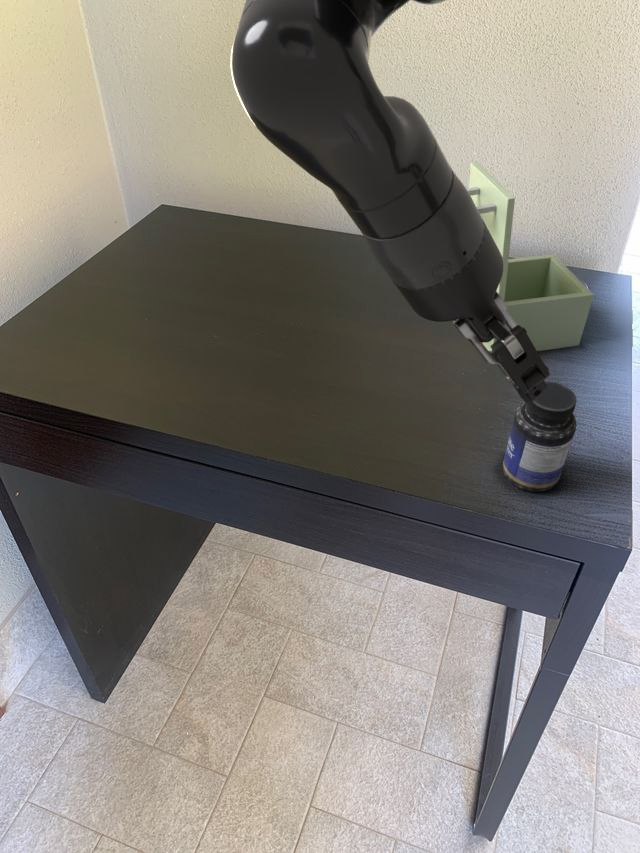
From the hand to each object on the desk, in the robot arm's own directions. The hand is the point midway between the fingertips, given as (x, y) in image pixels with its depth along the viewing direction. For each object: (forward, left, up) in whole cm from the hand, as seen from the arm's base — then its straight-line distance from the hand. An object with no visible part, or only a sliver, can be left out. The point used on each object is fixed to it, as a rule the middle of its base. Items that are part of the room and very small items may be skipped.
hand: (507, 364), depth 60 cm
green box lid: (+13, -29, -3) cm, 32 cm away
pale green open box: (+8, -34, -18) cm, 39 cm away
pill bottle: (-3, -7, -18) cm, 20 cm away
